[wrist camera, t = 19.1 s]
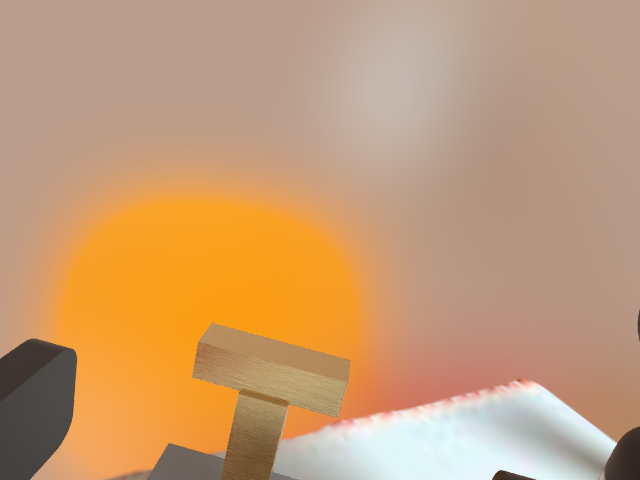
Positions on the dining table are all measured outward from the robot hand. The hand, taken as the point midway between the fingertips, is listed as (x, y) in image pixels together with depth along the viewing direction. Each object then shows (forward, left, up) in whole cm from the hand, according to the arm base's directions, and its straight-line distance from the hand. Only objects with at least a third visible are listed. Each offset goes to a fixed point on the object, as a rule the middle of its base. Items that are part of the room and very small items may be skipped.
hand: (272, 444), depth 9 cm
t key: (+2, -18, -28) cm, 33 cm away
